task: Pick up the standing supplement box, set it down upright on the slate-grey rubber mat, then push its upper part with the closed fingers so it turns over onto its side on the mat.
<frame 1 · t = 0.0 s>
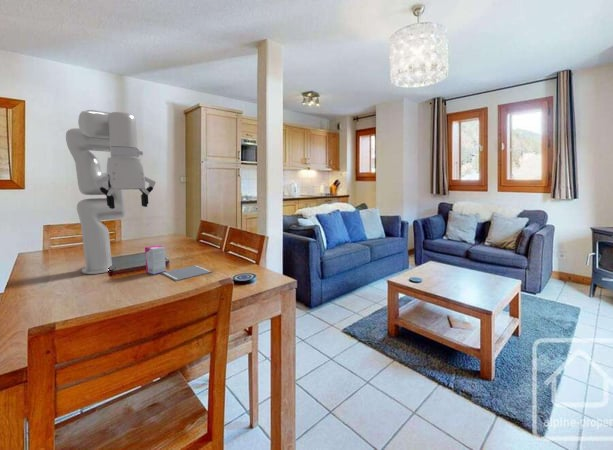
hand: (128, 207, 99), 31 cm above the table, fingers open, 9 cm apart
supplement box: (156, 273, 131), on the table
mat: (187, 272, 131), on the table
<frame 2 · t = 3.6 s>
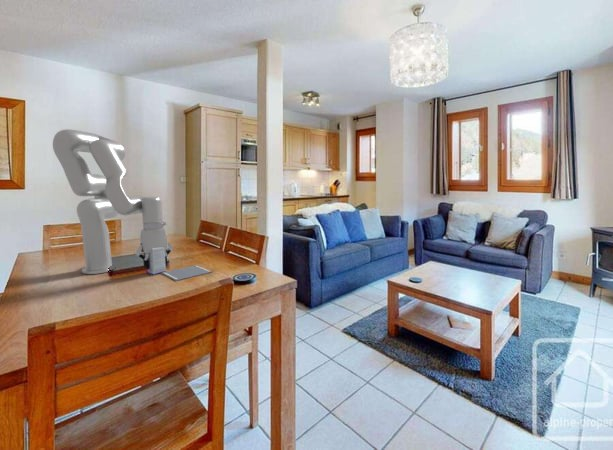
hand: (155, 266, 131), 3 cm above the table, fingers closed on supplement box, 6 cm apart
supplement box: (156, 273, 131), on the table, touching gripper
when the fingers open (4 cm above the table, at t = 8.8 s): supplement box stays where it is, resting on mat.
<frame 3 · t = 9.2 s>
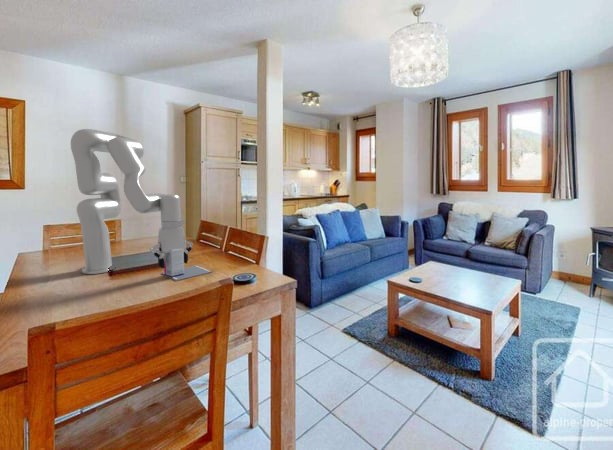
hand: (173, 265, 126), 5 cm above the table, fingers open, 9 cm apart
supplement box: (174, 275, 127), resting on mat
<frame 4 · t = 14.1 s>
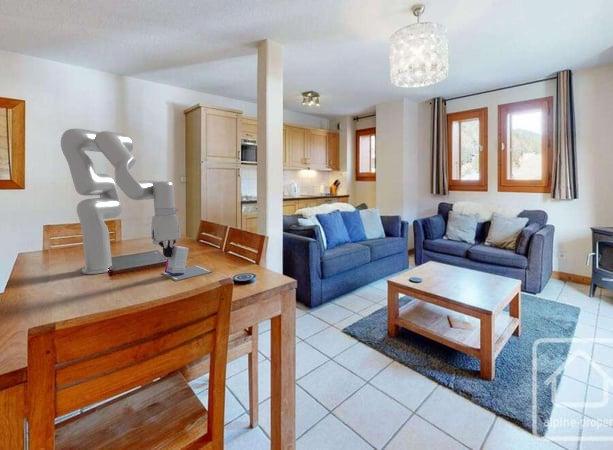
hand: (167, 256, 124), 9 cm above the table, fingers closed
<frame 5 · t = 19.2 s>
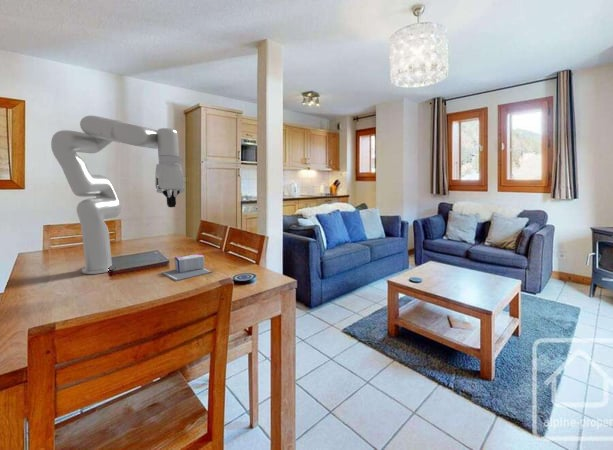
hand: (171, 206, 123), 29 cm above the table, fingers closed
supplement box: (175, 265, 132), point 3 cm above the table, touching mat
at the end: supplement box tilted 88°; supplement box 5.4 cm from the mat (horizontally); the gripper is holding nothing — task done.
